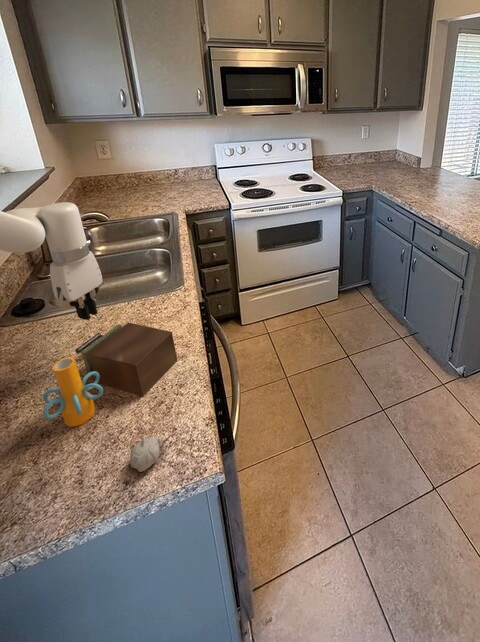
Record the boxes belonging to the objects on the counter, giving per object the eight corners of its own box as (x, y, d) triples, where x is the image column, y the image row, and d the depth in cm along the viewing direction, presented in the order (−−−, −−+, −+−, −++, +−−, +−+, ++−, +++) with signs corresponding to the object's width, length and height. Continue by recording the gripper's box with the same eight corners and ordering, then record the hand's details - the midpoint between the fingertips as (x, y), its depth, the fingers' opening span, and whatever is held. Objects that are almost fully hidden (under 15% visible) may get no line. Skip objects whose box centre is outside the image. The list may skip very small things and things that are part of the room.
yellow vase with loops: (117, 393, 88) (104, 343, 83) (100, 431, 78) (83, 378, 73) (63, 401, 86) (46, 350, 81) (38, 441, 76) (17, 386, 71)
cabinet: (97, 383, 91) (88, 353, 88) (135, 350, 102) (128, 322, 99) (143, 396, 87) (135, 365, 84) (177, 360, 98) (172, 331, 95)
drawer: (72, 371, 94) (64, 347, 91) (108, 343, 104) (102, 320, 101) (130, 388, 88) (124, 363, 86) (162, 356, 99) (157, 332, 96)
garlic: (143, 445, 75) (138, 427, 73) (167, 448, 74) (163, 429, 73) (125, 475, 69) (119, 456, 68) (151, 478, 69) (146, 458, 67)
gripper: (87, 238, 95) (103, 297, 101) (26, 265, 81) (48, 332, 87) (109, 241, 93) (123, 301, 99) (50, 270, 79) (71, 338, 85)
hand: (88, 315), depth 93 cm, fingers closed
